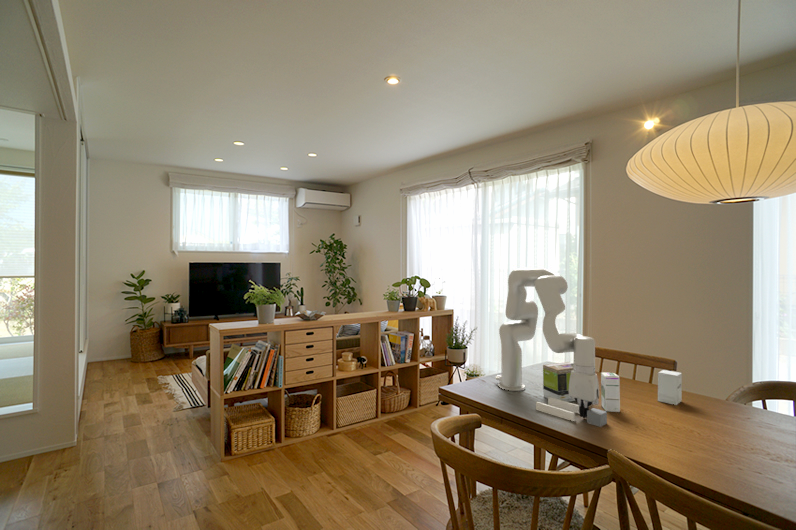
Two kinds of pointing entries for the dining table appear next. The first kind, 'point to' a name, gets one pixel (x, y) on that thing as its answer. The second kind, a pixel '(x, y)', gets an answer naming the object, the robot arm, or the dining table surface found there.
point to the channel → (557, 411)
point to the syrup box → (610, 392)
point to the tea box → (557, 381)
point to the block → (597, 417)
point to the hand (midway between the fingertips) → (584, 416)
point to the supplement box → (670, 387)
